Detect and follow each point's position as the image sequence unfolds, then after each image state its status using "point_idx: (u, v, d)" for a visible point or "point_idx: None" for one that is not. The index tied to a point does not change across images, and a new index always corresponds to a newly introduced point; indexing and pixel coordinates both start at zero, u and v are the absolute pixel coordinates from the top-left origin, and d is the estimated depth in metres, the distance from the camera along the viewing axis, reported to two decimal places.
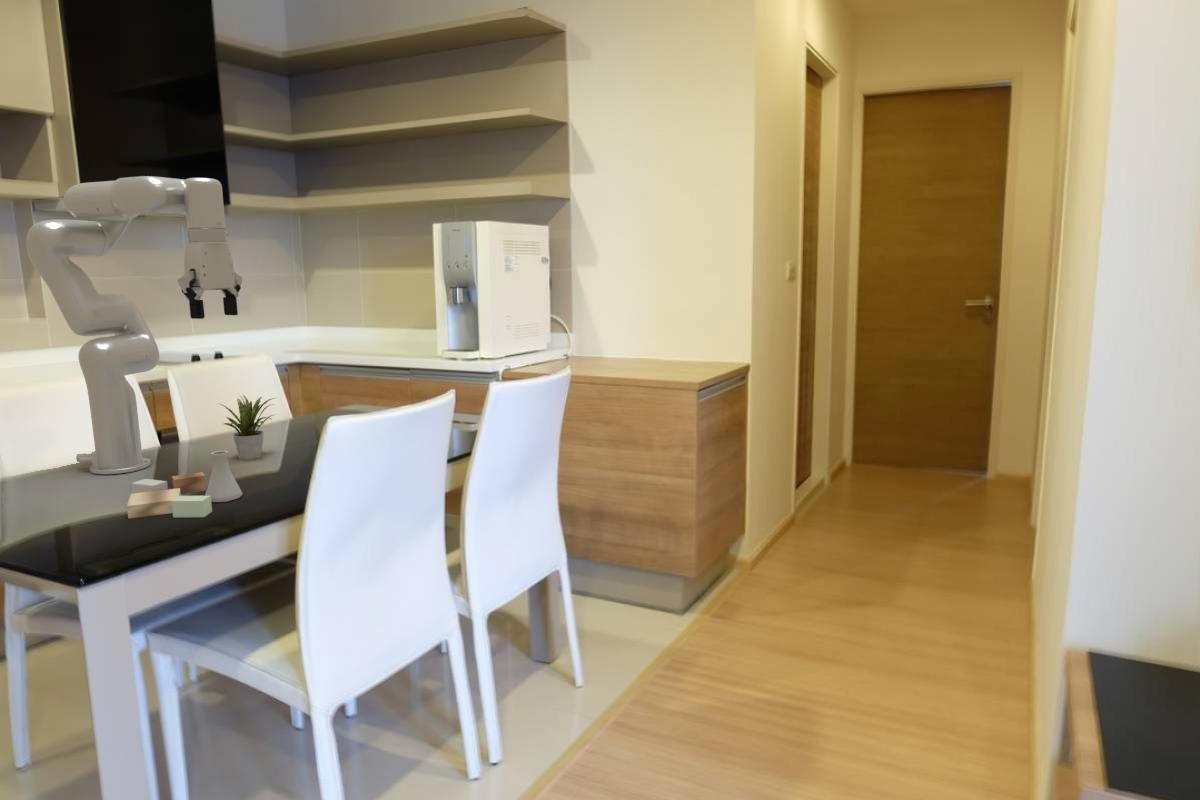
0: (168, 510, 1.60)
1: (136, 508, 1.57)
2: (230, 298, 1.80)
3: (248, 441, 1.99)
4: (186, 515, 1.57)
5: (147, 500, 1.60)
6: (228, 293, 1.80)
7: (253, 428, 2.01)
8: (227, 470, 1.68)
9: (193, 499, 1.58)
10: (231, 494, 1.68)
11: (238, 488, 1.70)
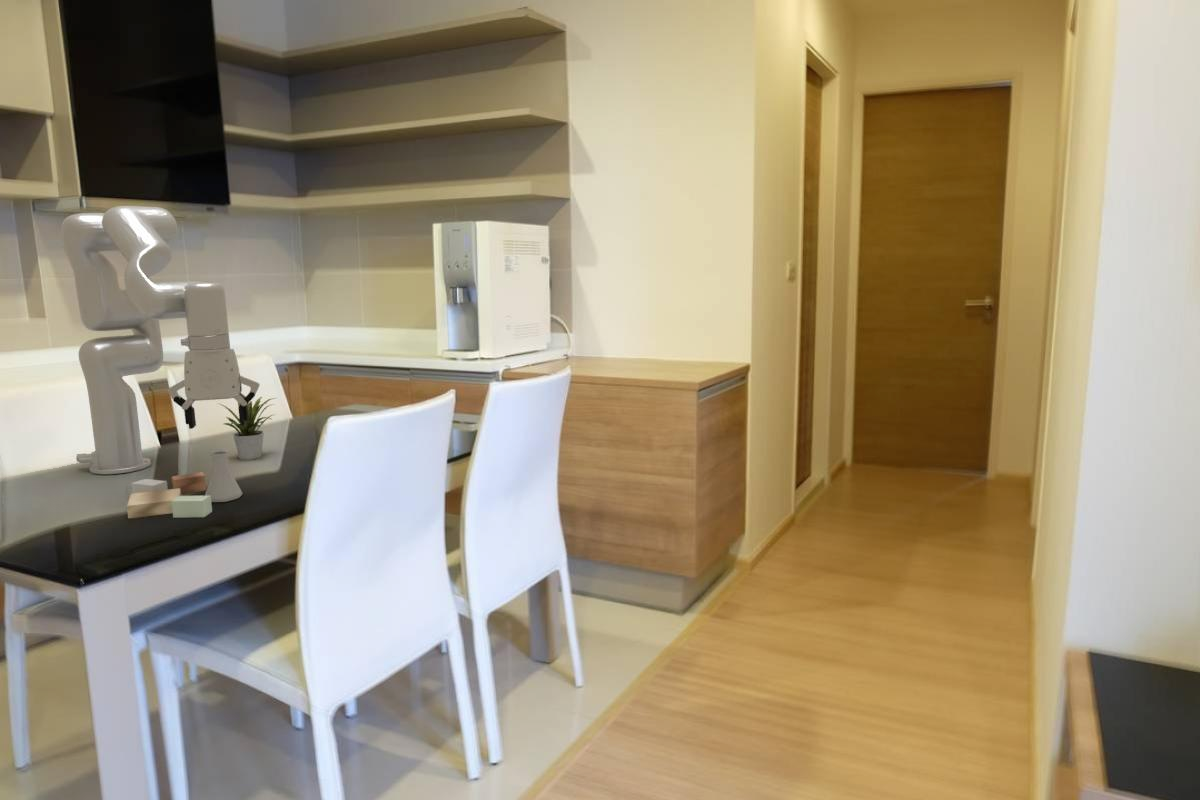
0: (168, 510, 1.60)
1: (136, 508, 1.57)
2: (192, 409, 1.65)
3: (248, 441, 1.99)
4: (186, 515, 1.57)
5: (147, 500, 1.60)
6: None
7: (253, 428, 2.01)
8: (227, 470, 1.68)
9: (193, 499, 1.58)
10: (231, 494, 1.68)
11: (238, 488, 1.70)
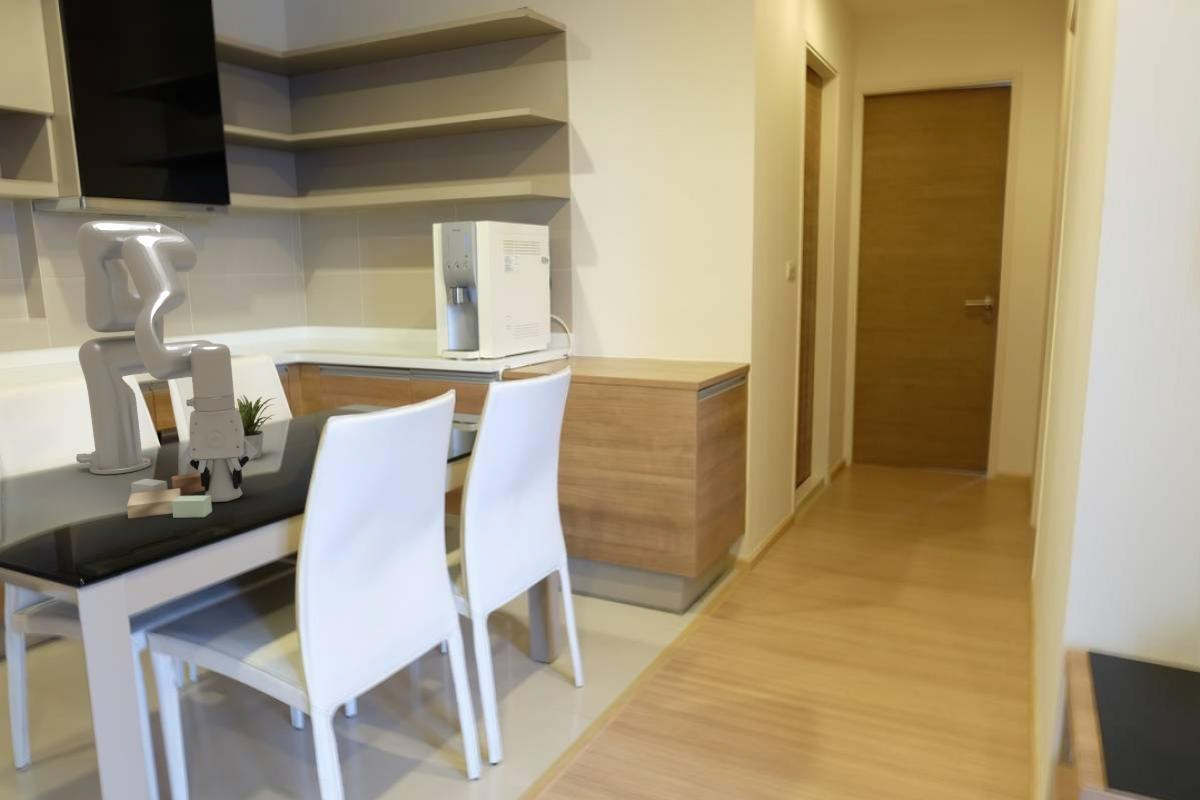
0: (168, 510, 1.60)
1: (136, 508, 1.57)
2: (208, 471, 1.68)
3: (248, 441, 1.99)
4: (186, 515, 1.57)
5: (147, 500, 1.60)
6: None
7: (253, 428, 2.01)
8: (227, 470, 1.68)
9: (193, 499, 1.58)
10: (231, 494, 1.68)
11: (238, 488, 1.70)
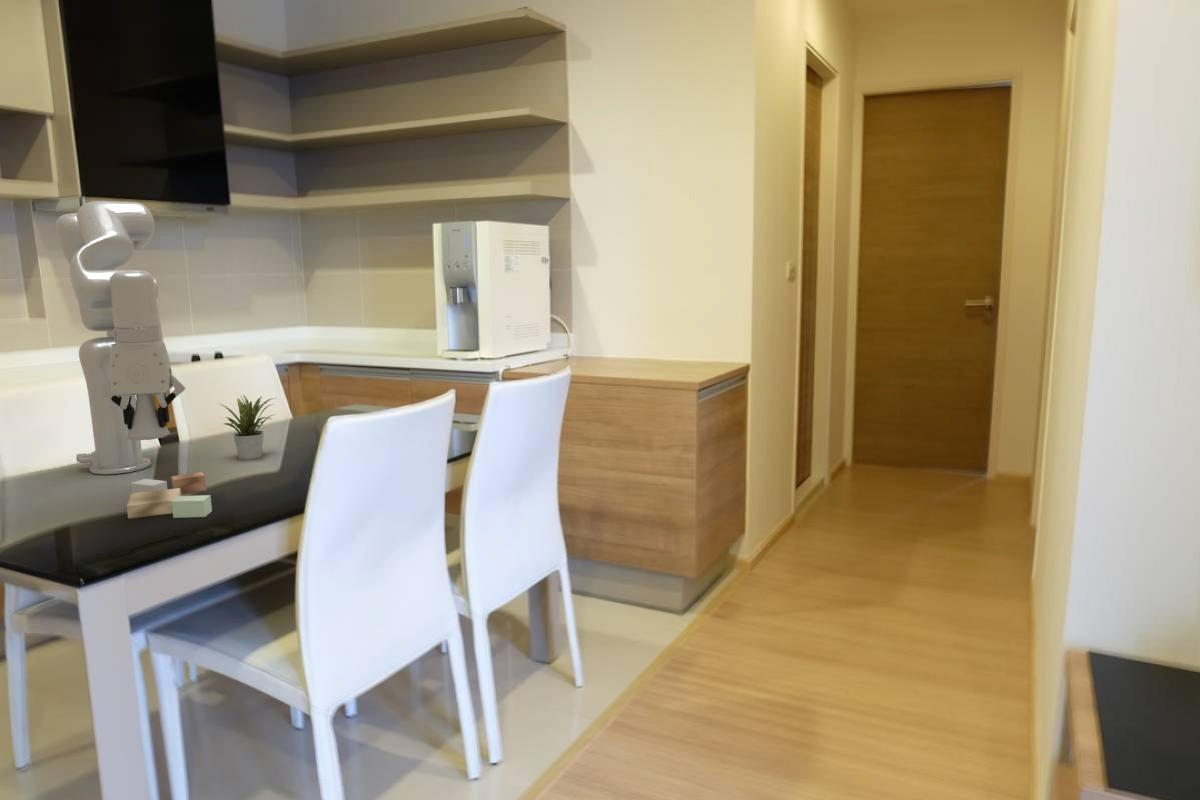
0: (168, 510, 1.60)
1: (136, 508, 1.57)
2: (132, 408, 1.59)
3: (248, 441, 1.99)
4: (187, 515, 1.57)
5: (147, 500, 1.60)
6: None
7: (253, 428, 2.01)
8: (152, 407, 1.59)
9: (193, 499, 1.58)
10: (156, 432, 1.58)
11: (165, 427, 1.61)
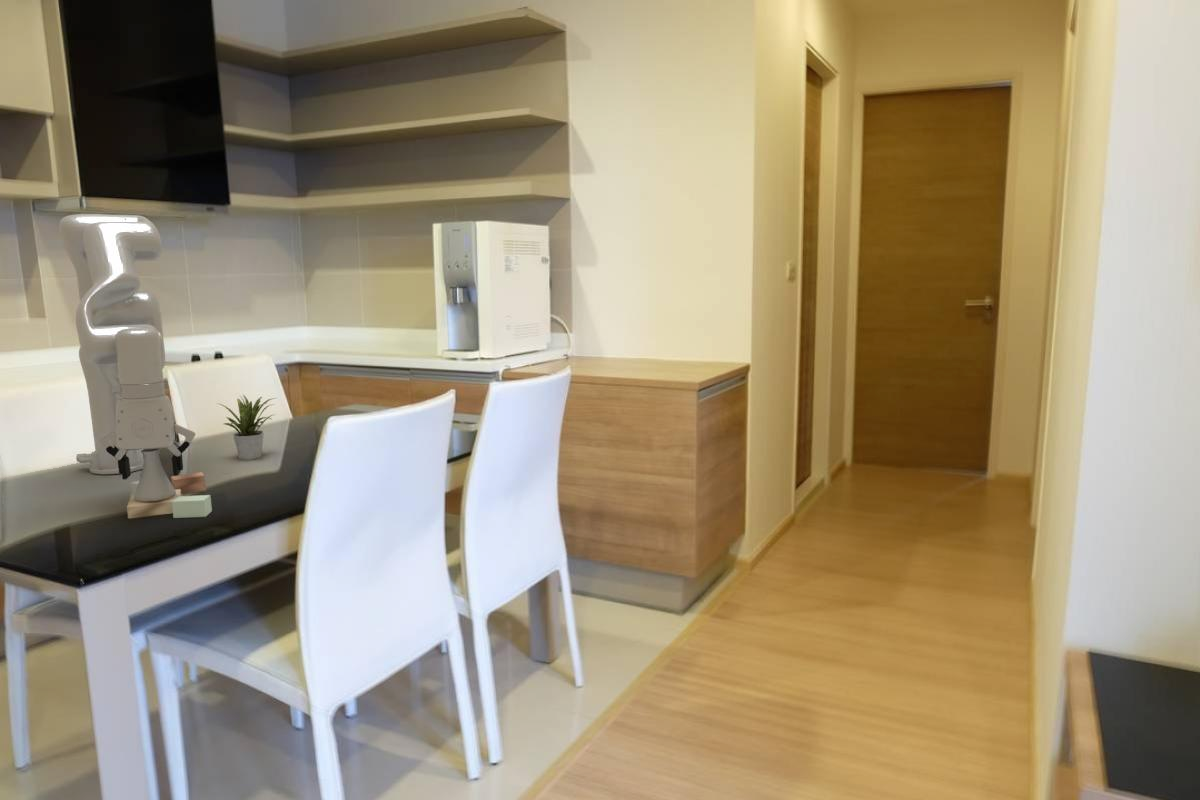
0: (168, 512, 1.60)
1: (136, 510, 1.57)
2: (127, 458, 1.60)
3: (248, 441, 1.99)
4: (187, 515, 1.57)
5: (147, 501, 1.60)
6: None
7: (253, 428, 2.01)
8: (159, 468, 1.61)
9: (194, 499, 1.58)
10: (163, 493, 1.60)
11: (171, 487, 1.63)
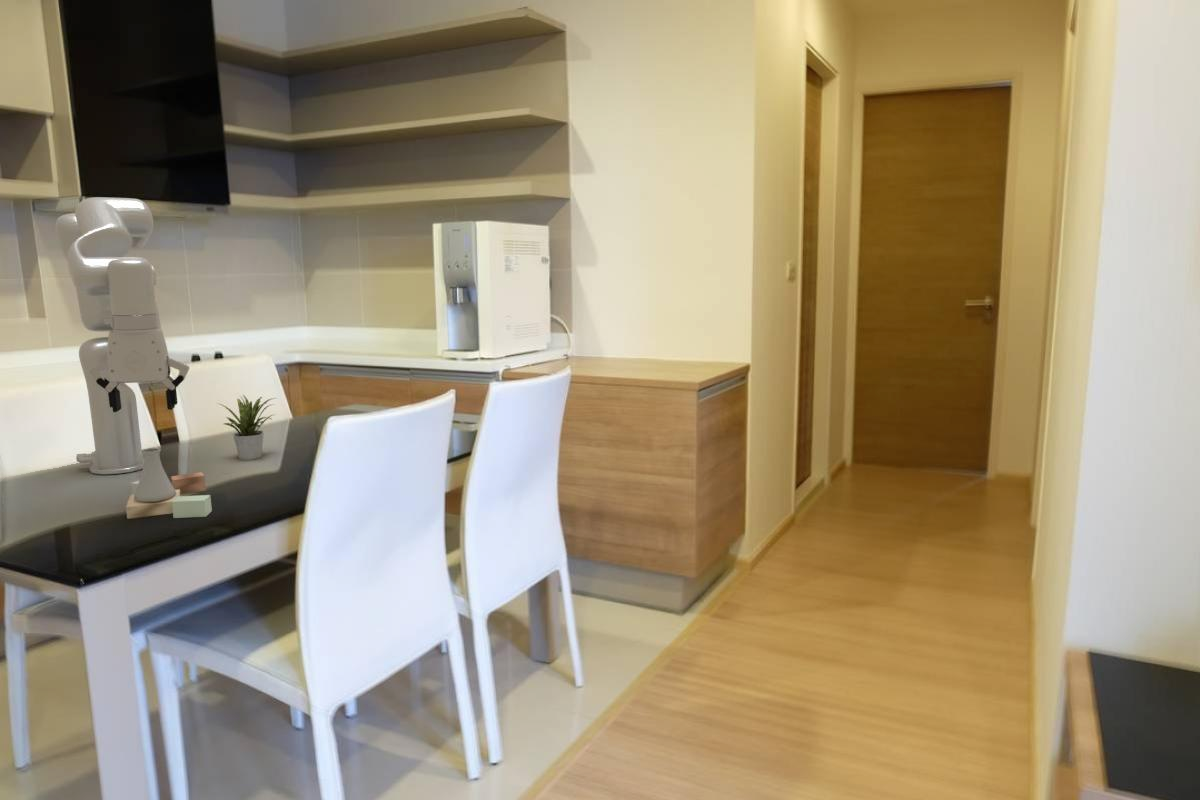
0: (167, 512, 1.59)
1: (136, 510, 1.57)
2: (117, 391, 1.58)
3: (248, 441, 1.99)
4: (187, 515, 1.57)
5: None
6: None
7: (253, 428, 2.01)
8: (159, 468, 1.60)
9: (194, 499, 1.58)
10: (163, 494, 1.60)
11: (171, 487, 1.63)
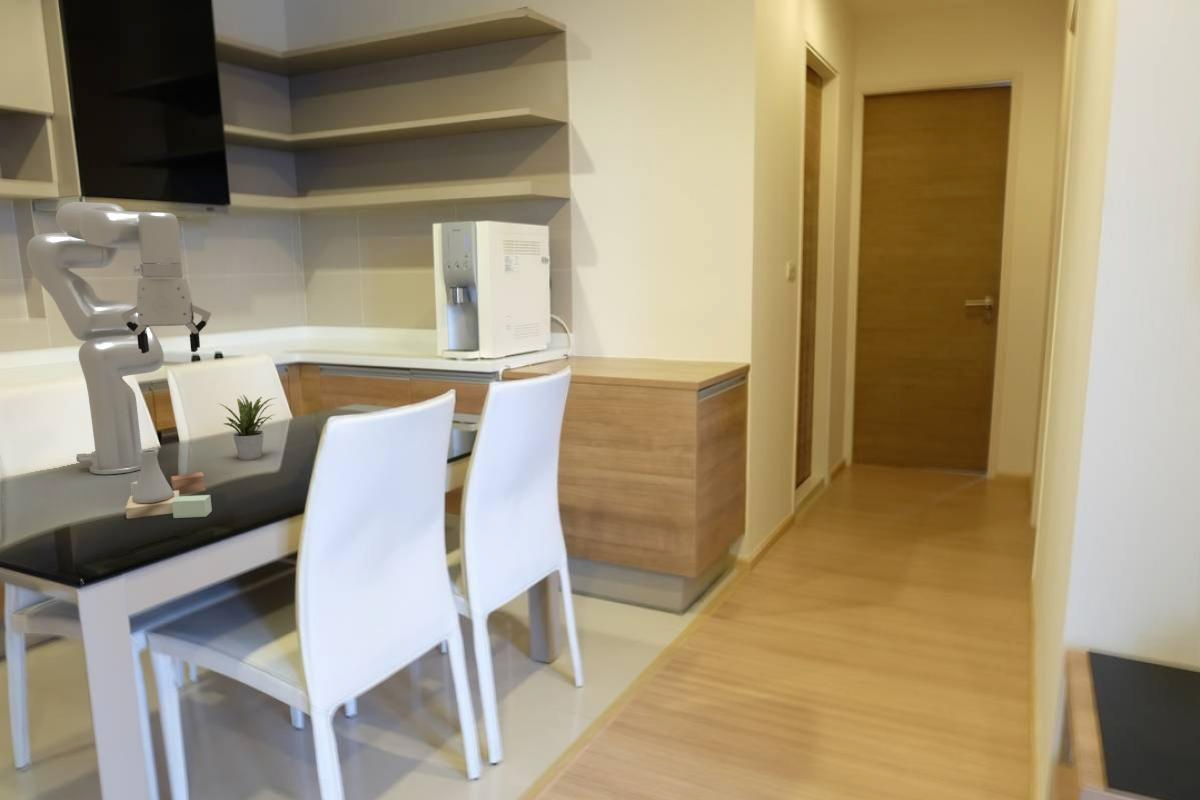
0: (167, 513, 1.60)
1: (135, 511, 1.57)
2: (145, 334, 1.72)
3: (248, 441, 1.99)
4: (187, 515, 1.57)
5: None
6: None
7: (253, 428, 2.01)
8: (156, 470, 1.61)
9: (194, 499, 1.58)
10: (159, 495, 1.60)
11: (169, 489, 1.63)
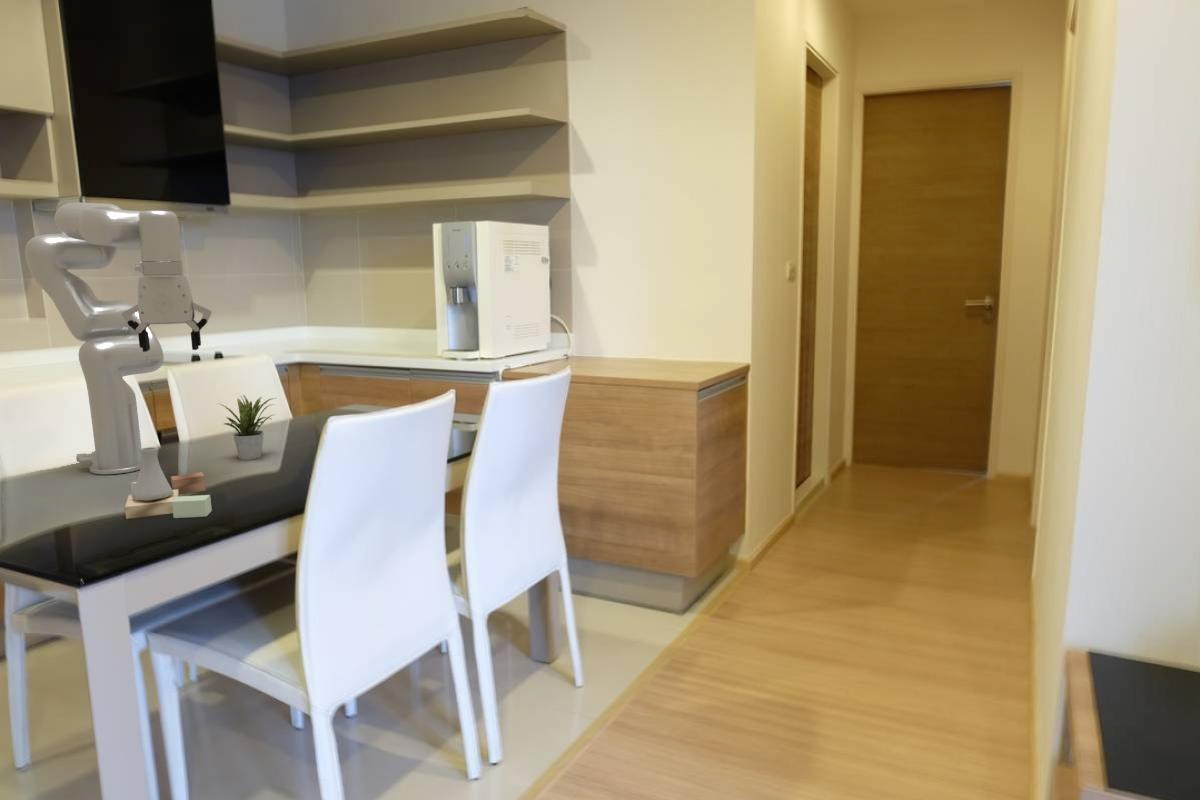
0: (166, 512, 1.59)
1: (134, 510, 1.57)
2: (146, 333, 1.72)
3: (248, 441, 1.99)
4: (187, 515, 1.57)
5: (145, 501, 1.60)
6: None
7: (253, 428, 2.01)
8: (155, 467, 1.60)
9: (194, 499, 1.58)
10: (157, 493, 1.60)
11: (168, 487, 1.62)
